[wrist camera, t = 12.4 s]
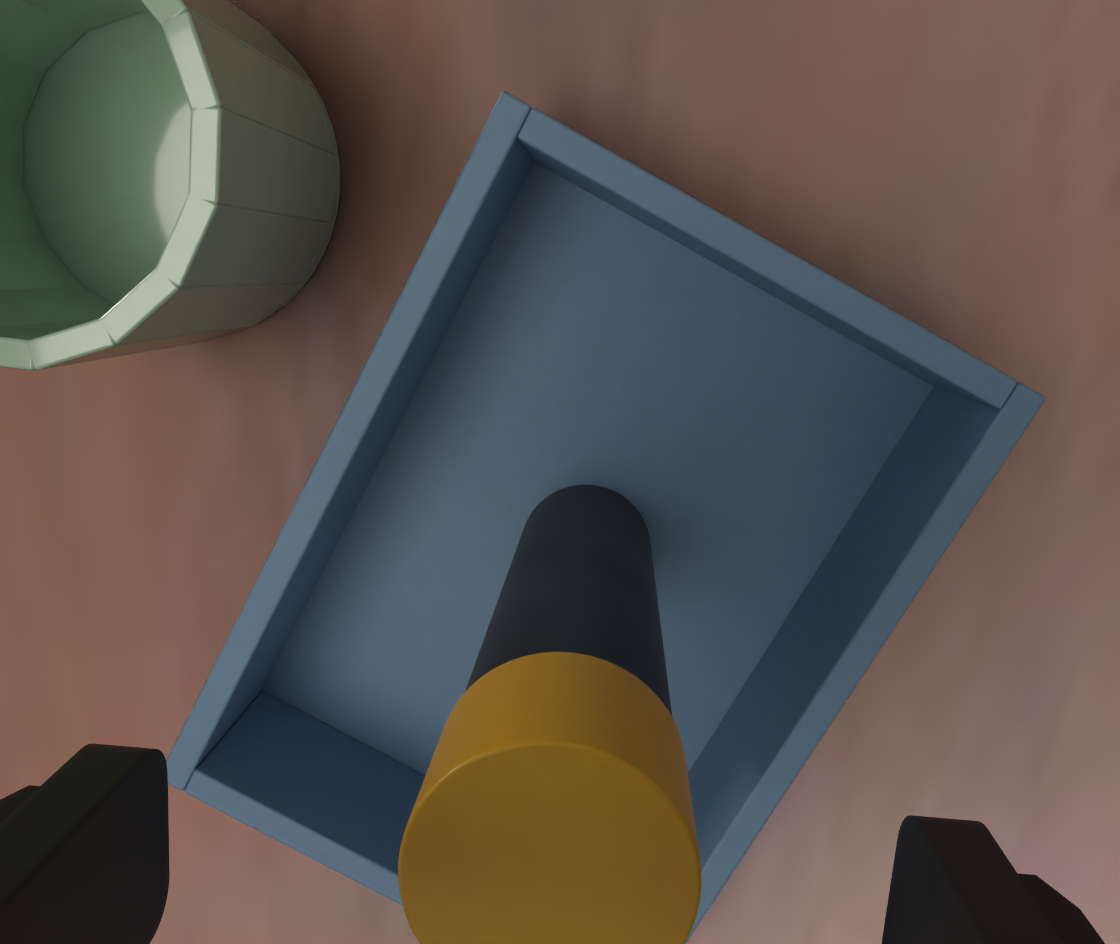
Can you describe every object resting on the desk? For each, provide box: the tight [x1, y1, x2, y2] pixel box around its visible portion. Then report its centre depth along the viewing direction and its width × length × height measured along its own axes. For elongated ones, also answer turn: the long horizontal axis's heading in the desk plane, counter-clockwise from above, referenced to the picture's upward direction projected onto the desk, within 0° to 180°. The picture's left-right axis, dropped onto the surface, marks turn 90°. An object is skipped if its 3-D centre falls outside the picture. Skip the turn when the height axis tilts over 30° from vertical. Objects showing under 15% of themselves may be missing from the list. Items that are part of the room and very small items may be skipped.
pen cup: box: [0, 0, 340, 370], centre depth 19 cm, size 7×7×7 cm
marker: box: [398, 485, 702, 944], centre depth 17 cm, size 3×3×13 cm
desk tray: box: [166, 91, 1045, 944], centre depth 21 cm, size 11×15×4 cm
